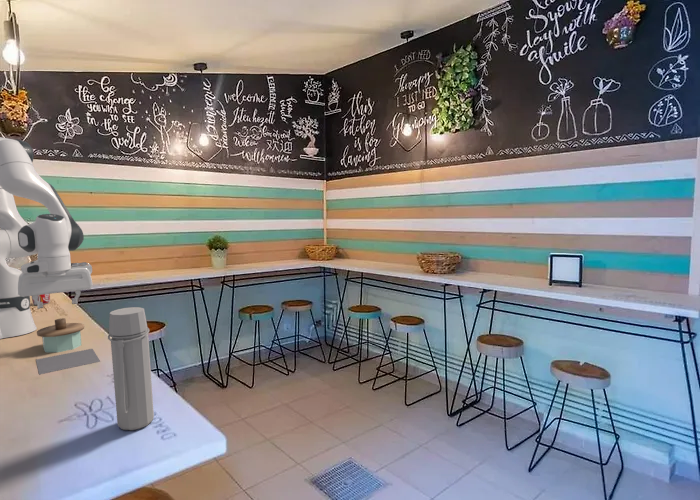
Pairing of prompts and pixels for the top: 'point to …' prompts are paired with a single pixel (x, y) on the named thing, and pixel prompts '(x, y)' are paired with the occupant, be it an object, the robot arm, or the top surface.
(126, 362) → the water bottle
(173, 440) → the top surface
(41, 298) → the soda can
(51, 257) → the robot arm
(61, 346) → the ceramic bowl
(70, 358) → the rubber mat
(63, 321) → the walnut lid
